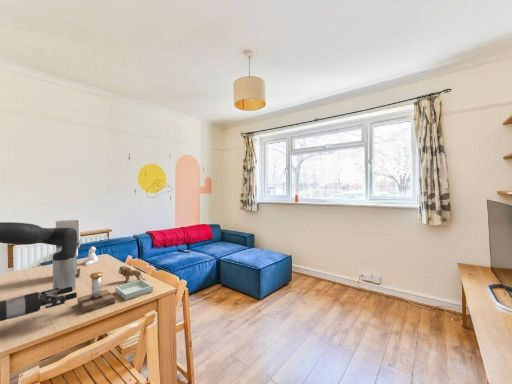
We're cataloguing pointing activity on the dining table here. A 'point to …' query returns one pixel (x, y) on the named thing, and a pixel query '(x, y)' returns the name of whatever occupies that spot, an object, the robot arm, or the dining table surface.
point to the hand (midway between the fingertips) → (74, 291)
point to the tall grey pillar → (76, 226)
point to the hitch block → (95, 301)
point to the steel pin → (96, 285)
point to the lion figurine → (129, 273)
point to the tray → (133, 289)
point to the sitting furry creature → (91, 257)
